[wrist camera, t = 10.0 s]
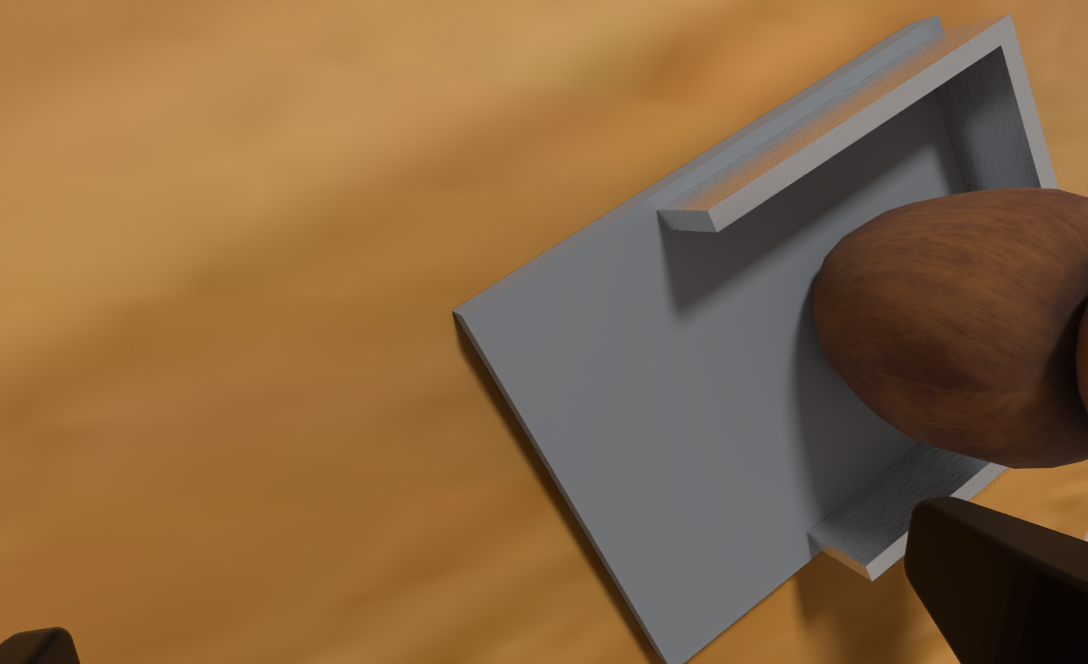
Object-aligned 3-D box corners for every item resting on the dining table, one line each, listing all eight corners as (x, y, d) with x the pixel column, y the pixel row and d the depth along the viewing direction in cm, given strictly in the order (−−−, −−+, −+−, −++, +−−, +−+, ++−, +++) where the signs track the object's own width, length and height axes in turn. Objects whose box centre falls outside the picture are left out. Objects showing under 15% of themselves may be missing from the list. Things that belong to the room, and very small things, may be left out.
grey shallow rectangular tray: (656, 654, 24) (719, 725, 20) (452, 310, 19) (489, 331, 16) (1019, 363, 27) (1121, 384, 24) (911, 22, 23) (1017, -8, 20)
